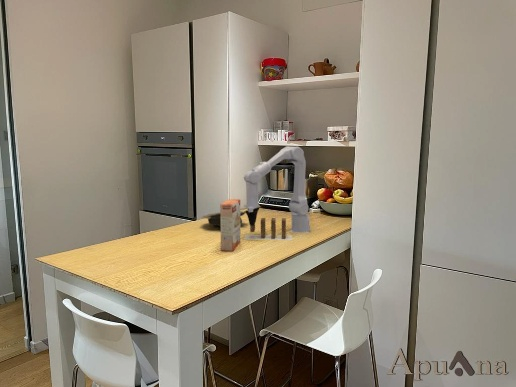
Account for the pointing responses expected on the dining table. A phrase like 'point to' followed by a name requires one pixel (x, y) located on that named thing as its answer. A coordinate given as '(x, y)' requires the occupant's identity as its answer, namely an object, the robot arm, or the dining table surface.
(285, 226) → the tile
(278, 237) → the mat
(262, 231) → the brown wooden block
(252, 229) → the brown wooden block
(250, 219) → the robot arm
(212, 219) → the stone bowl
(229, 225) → the cracker box
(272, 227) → the brown wooden block
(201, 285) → the dining table surface
